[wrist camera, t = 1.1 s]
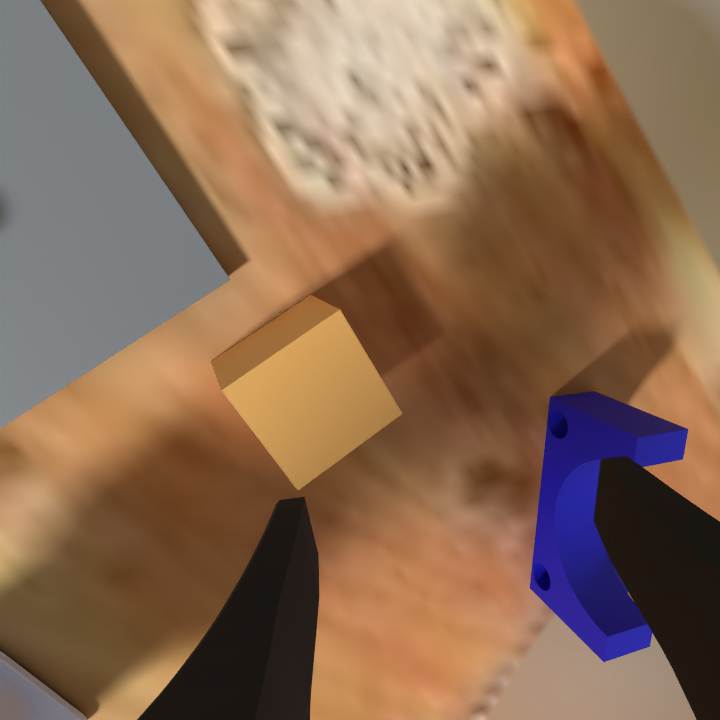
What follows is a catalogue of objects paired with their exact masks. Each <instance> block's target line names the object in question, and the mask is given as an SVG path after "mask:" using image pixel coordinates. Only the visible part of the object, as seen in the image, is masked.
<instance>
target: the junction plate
mask: <svg viewBox="0 0 720 720" xmlns="http://www.w3.org/2000/svg"><path fill="white" fill-rule="evenodd" d="M229 280H230V278H229V277H228V276H227V274H226V273H225V271H224V270H223V268H222V267H221V265H220V264H219V262H218V261H217V259H216V258H215V256H214V255H213V253H212V252H211V251H210V249H209V248H208V246H207V245H206V243H205V242H204V240H203V239H202V237H201V236H200V234H199V233H198V231H197V230H196V228H195V227H194V226H193V224H192V223H191V221H190V220H189V218H188V217H187V215H186V214H185V212H184V211H183V209H182V208H181V206H180V205H179V204H178V202H177V201H176V199H175V198H174V196H173V195H172V193H171V192H170V190H169V189H168V187H167V186H166V184H165V183H164V181H163V180H162V179H161V177H160V176H159V174H158V173H157V171H156V170H155V168H154V167H153V165H152V164H151V162H150V161H149V159H148V158H147V156H146V155H145V154H144V152H143V151H142V149H141V148H140V146H139V145H138V143H137V142H136V140H135V139H134V137H133V136H132V134H131V133H130V131H129V130H128V129H127V127H126V126H125V124H124V123H123V121H122V120H121V118H120V117H119V115H118V114H117V112H116V111H115V109H114V108H113V106H112V105H111V104H110V102H109V101H108V99H107V98H106V96H105V95H104V93H103V92H102V90H101V89H100V87H99V86H98V84H97V83H96V81H95V80H94V79H93V77H92V76H91V74H90V73H89V71H88V70H87V68H86V67H85V65H84V64H83V62H82V61H81V59H80V58H79V56H78V55H77V54H76V52H75V51H74V49H73V48H72V46H71V45H70V43H69V42H68V40H67V39H66V37H65V36H64V34H63V33H62V31H61V30H60V29H59V27H58V26H57V24H56V23H55V21H54V20H53V18H52V17H51V15H50V14H49V12H48V11H47V9H46V8H45V6H44V5H43V4H42V2H41V1H40V0H0V428H2V427H3V426H5V425H6V424H8V423H9V422H11V421H12V420H14V419H16V418H17V417H19V416H20V415H22V414H23V413H25V412H26V411H28V410H29V409H31V408H33V407H34V406H36V405H37V404H39V403H40V402H42V401H43V400H45V399H47V398H48V397H50V396H51V395H53V394H54V393H56V392H57V391H59V390H60V389H62V388H64V387H65V386H67V385H68V384H70V383H71V382H73V381H74V380H76V379H77V378H79V377H81V376H82V375H84V374H85V373H87V372H88V371H90V370H91V369H93V368H94V367H96V366H98V365H99V364H101V363H102V362H104V361H105V360H107V359H108V358H110V357H111V356H113V355H115V354H116V353H118V352H119V351H121V350H122V349H124V348H125V347H127V346H128V345H130V344H132V343H133V342H135V341H136V340H138V339H139V338H141V337H142V336H144V335H145V334H147V333H149V332H150V331H152V330H153V329H155V328H156V327H158V326H159V325H161V324H162V323H164V322H166V321H167V320H169V319H170V318H172V317H173V316H175V315H176V314H178V313H179V312H181V311H183V310H184V309H186V308H187V307H189V306H190V305H192V304H193V303H195V302H196V301H198V300H200V299H201V298H203V297H204V296H206V295H207V294H209V293H210V292H212V291H214V290H215V289H217V288H218V287H220V286H221V285H223V284H224V283H226V282H227V281H229Z"/></svg>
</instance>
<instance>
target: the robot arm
mask: <svg viewBox="0 0 720 720" xmlns="http://www.w3.org/2000/svg"><path fill="white" fill-rule="evenodd" d="M593 521H594V523H595V526H596V528H597V531H598V533H599V535H600V538H601V540H602V543H603V545H604V547H605V549H606V552H607V554H608V556H609V558H610V561H611V562H612V564H613V566H614V568H615V569H616V571H617V573H618V575H619V576H620V578H621V580H622V581H623V583H624V585H625V587H626V588H627V590H628V592H629V594H630V595H631V597H632V599H633V600H634V602H635V604H636V605H637V607H638V609H639V611H640V612H641V614H642V616H643V617H644V619H645V621H646V622H647V624H648V626H649V628H650V629H651V631H652V633H653V634H654V636H655V638H656V639H657V641H658V643H659V644H660V646H661V648H662V650H663V652H664V653H665V655H666V657H667V659H668V661H669V662H670V665H671V666H672V668H673V670H674V672H675V674H676V677H677V679H678V681H679V683H680V685H681V687H682V689H683V691H684V694H685V696H686V698H687V700H688V702H689V704H690V706H691V708H692V710H693V713H694V714H695V717H696V719H697V720H720V522H719V521H718V520H716V519H715V518H713V517H712V516H710V515H709V514H707V513H706V512H704V511H703V510H702V509H700V508H699V507H697V506H696V505H694V504H693V503H691V502H690V501H689V500H687V499H686V498H684V497H683V496H682V495H680V494H679V493H677V492H676V491H674V490H673V489H672V488H670V487H669V486H668V485H666V484H665V483H663V482H662V481H661V480H659V479H658V478H657V477H655V476H654V475H652V474H651V473H650V472H648V471H647V470H646V469H644V468H643V467H641V466H640V465H639V464H637V463H636V462H634V461H633V460H632V459H630V458H629V457H627V456H620V457H612V458H604V459H601V460H600V468H599V477H598V485H597V494H596V502H595V510H594V519H593ZM318 605H319V562H318V552H317V547H316V543H315V539H314V535H313V531H312V527H311V523H310V518H309V514H308V510H307V506H306V502H305V498H304V497H300V498H292V499H285V500H279V502H278V503H277V504H276V506H275V508H274V511H273V513H272V516H271V518H270V520H269V523H268V525H267V527H266V529H265V531H264V534H263V536H262V538H261V540H260V542H259V544H258V546H257V548H256V550H255V552H254V554H253V556H252V558H251V560H250V561H249V563H248V565H247V567H246V569H245V571H244V573H243V575H242V576H241V578H240V580H239V582H238V583H237V585H236V587H235V588H234V590H233V592H232V594H231V595H230V597H229V599H228V600H227V602H226V604H225V605H224V607H223V609H222V610H221V612H220V613H219V615H218V616H217V618H216V620H215V621H214V623H213V624H212V626H211V627H210V629H209V630H208V631H207V633H206V634H205V636H204V637H203V639H202V640H201V641H200V643H199V644H198V646H197V647H196V649H195V650H194V651H193V653H192V654H191V655H190V656H189V658H188V659H187V660H186V662H185V663H184V664H183V666H182V667H181V668H180V670H179V671H178V672H177V674H176V675H175V676H174V677H173V679H172V680H171V681H170V682H169V684H168V685H167V686H166V687H165V688H164V690H163V691H162V692H161V693H160V694H159V696H158V697H157V698H156V699H155V700H154V701H153V702H152V703H151V705H150V706H149V707H148V708H147V709H146V710H145V711H144V713H143V714H142V715H141V716H140V717H139V718H138V719H137V720H310V700H311V685H312V674H313V662H314V651H315V640H316V629H317V617H318ZM0 720H87V718H86V717H85V715H84V714H82V713H81V712H80V711H78V710H77V709H76V708H74V707H73V706H72V705H70V704H69V703H68V702H67V701H65V700H64V699H63V698H61V697H60V696H59V695H57V694H56V693H55V692H54V691H52V690H51V689H50V688H48V687H47V686H46V685H44V684H43V683H42V682H40V681H39V680H38V679H37V678H35V677H34V676H33V675H31V674H30V673H29V672H27V671H26V670H25V669H24V668H22V667H21V666H20V665H18V664H17V663H16V662H14V661H13V660H12V659H10V658H9V657H8V656H7V655H5V654H4V653H3V652H1V651H0Z"/></svg>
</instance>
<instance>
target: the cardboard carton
mask: <svg viewBox="0 0 720 720" xmlns="http://www.w3.org/2000/svg"><path fill="white" fill-rule="evenodd" d="M211 364H212V366H213V369H214V372H215V374H216V377H217V380H218V382H219V385H220V388H221V390H222V392H223V393H224V394H225V396H226V397H227V398H228V400H229V401H230V402H231V403H232V405H233V406H234V407H235V409H236V410H237V411H238V413H239V414H240V415H241V417H242V418H243V419H244V421H245V422H246V423H247V424H248V426H249V427H250V428H251V430H252V431H253V432H254V434H255V435H256V436H257V438H258V439H259V440H260V442H261V443H262V444H263V445H264V447H265V448H266V449H267V451H268V452H269V453H270V455H271V456H272V457H273V459H274V460H275V461H276V463H277V464H278V465H279V467H280V468H281V469H282V470H283V472H284V473H285V474H286V476H287V477H288V478H289V480H290V481H291V482H292V484H293V485H294V486H295V488H296V489H297V490H300V489H301V488H302V487H304V486H305V485H306V484H308V483H309V482H310V481H312V480H313V479H315V478H316V477H317V476H319V475H320V474H321V473H323V472H324V471H325V470H327V469H328V468H329V467H331V466H332V465H334V464H335V463H336V462H338V461H339V460H340V459H342V458H343V457H344V456H346V455H347V454H348V453H350V452H351V451H353V450H354V449H355V448H357V447H358V446H359V445H361V444H362V443H363V442H365V441H366V440H368V439H369V438H370V437H372V436H373V435H374V434H376V433H377V432H378V431H380V430H381V429H382V428H384V427H385V426H387V425H388V424H389V423H391V422H392V421H393V420H395V419H396V418H397V417H399V416H400V415H401V414H402V412H401V410H400V409H399V407H398V405H397V404H396V402H395V400H394V399H393V397H392V395H391V394H390V392H389V390H388V389H387V387H386V385H385V384H384V382H383V380H382V379H381V377H380V375H379V374H378V372H377V370H376V369H375V367H374V365H373V364H372V362H371V360H370V359H369V357H368V355H367V354H366V352H365V350H364V349H363V347H362V345H361V344H360V342H359V340H358V339H357V337H356V335H355V334H354V332H353V330H352V329H351V327H350V325H349V324H348V322H347V320H346V319H345V317H344V315H343V314H342V312H341V310H340V309H338V308H336V307H334V306H332V305H330V304H328V303H326V302H324V301H322V300H320V299H318V298H316V297H314V296H312V295H309V296H308V297H306V298H305V299H303V300H302V301H300V302H299V303H297V304H296V305H294V306H293V307H291V308H290V309H289V310H287V311H286V312H284V313H283V314H281V315H280V316H278V317H277V318H275V319H274V320H272V321H271V322H269V323H268V324H266V325H265V326H263V327H262V328H260V329H259V330H257V331H256V332H254V333H253V334H251V335H250V336H248V337H247V338H245V339H244V340H242V341H241V342H239V343H238V344H236V345H235V346H233V347H232V348H230V349H229V350H227V351H226V352H224V353H223V354H221V355H220V356H218V357H217V358H215V359H214V360H212V361H211Z"/></svg>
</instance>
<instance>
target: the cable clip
mask: <svg viewBox="0 0 720 720" xmlns="http://www.w3.org/2000/svg"><path fill="white" fill-rule="evenodd" d="M687 433H688V429H686V428H684V427H681V426H679V425H676V424H674V423H671V422H669V421H666V420H664V419H661V418H659V417H657V416H654V415H652V414H649V413H647V412H644V411H642V410H639V409H637V408H634V407H632V406H629V405H627V404H624V403H622V402H619V401H617V400H614V399H612V398H609V397H607V396H604V395H602V394H599V393H597V392H586V393H578V394H571V395H563V396H555V397H550V403H549V412H548V422H547V431H546V441H545V450H544V460H543V469H542V479H541V488H540V498H539V507H538V516H537V526H536V535H535V545H534V554H533V564H532V573H531V583H530V589H531V590H532V591H533V592H534V593H535V594H536V595H537V596H538V597H539V598H540V599H541V600H542V601H543V602H544V603H545V604H546V605H547V606H548V607H549V608H550V609H551V610H552V611H553V612H554V613H555V614H556V615H557V616H558V617H559V618H560V619H562V620H563V622H565V624H566V625H567V626H568V627H570V629H571V630H572V631H573V632H574V633H575V634H576V635H577V636H578V637H579V638H580V639H581V640H582V641H584V643H585V644H586V645H588V647H590V649H591V650H592V651H593V652H594V653H595V654H596V655H598V657H599V658H601V660H602V661H604V662H605V661H608V660H611V659H614V658H617V657H620V656H623V655H626V654H629V653H632V652H635V651H638V650H641V649H644V648H647V647H649V646H650V642H651V636H652V631H651V629H650V628H649V626H648V624H647V622H646V621H645V619H644V617H643V616H642V614H641V612H640V611H639V609H638V607H637V605H636V604H635V603H634V601H633V600H632V599H631V598H630V596H629V595H628V594H627V593H628V590H627V588H626V587H625V585H624V583H623V581H622V580H621V578H620V576H619V575H618V573H617V571H616V569H615V568H614V566H613V564H612V562H611V561H610V558H609V556H608V554H607V552H606V549H605V547H604V545H603V543H602V540H601V538H600V535H599V533H598V531H597V528H596V526H595V523H594V521H593V519H594V510H595V502H596V494H597V485H598V477H599V468H600V460H601V459H604V458H612V457H620V456H627V457H629V458H630V459H632V460H633V461H634V462H636V463H637V464H639V465H640V466H641V467H645V466H650V465H656V464H661V463H666V462H671V461H677V460H682V459H683V456H684V450H685V444H686V439H687Z"/></svg>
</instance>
